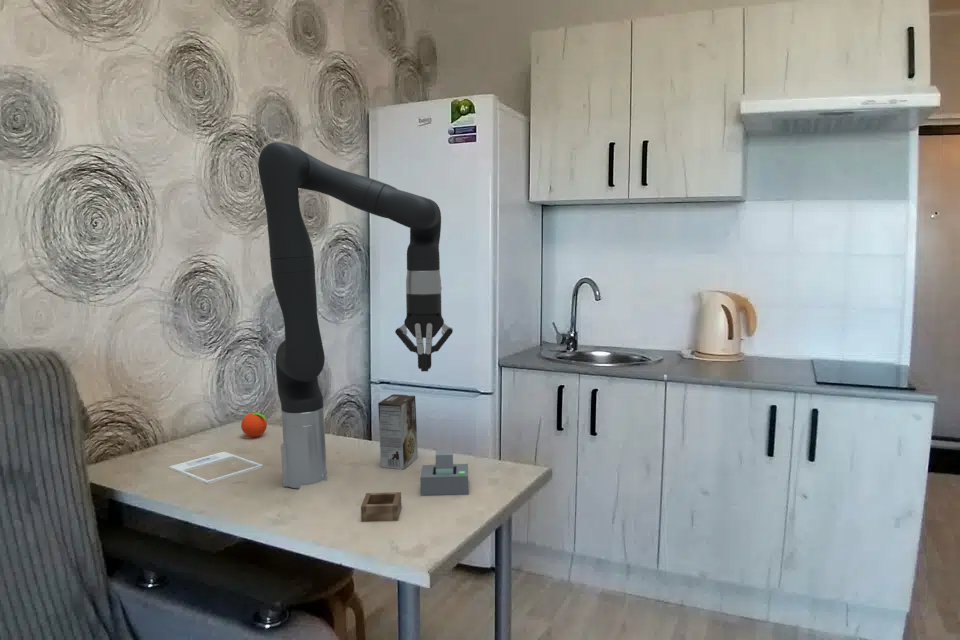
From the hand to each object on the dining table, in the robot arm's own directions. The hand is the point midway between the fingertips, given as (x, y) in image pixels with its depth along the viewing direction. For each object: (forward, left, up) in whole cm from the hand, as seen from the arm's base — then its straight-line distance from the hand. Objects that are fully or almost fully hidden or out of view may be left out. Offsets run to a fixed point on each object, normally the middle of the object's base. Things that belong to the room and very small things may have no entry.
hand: (424, 370), depth 151 cm
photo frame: (-53, +16, -27) cm, 62 cm away
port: (+4, -5, -26) cm, 27 cm away
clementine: (-51, +42, -26) cm, 71 cm away
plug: (+4, -5, -25) cm, 26 cm away
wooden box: (-8, -18, -26) cm, 32 cm away
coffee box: (-8, +16, -26) cm, 32 cm away
